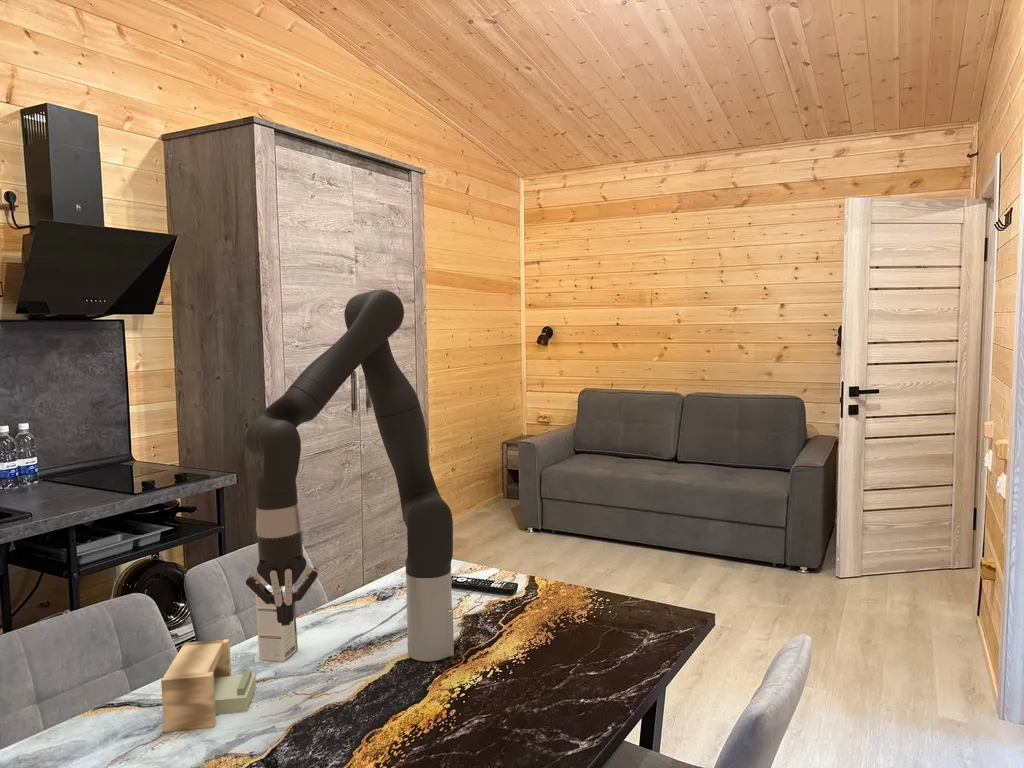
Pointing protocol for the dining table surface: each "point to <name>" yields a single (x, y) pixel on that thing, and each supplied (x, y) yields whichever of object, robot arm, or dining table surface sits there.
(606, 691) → the dining table surface
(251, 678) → the panel
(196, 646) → the wooden c-channel bracket
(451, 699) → the dining table surface
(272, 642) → the syrup box
